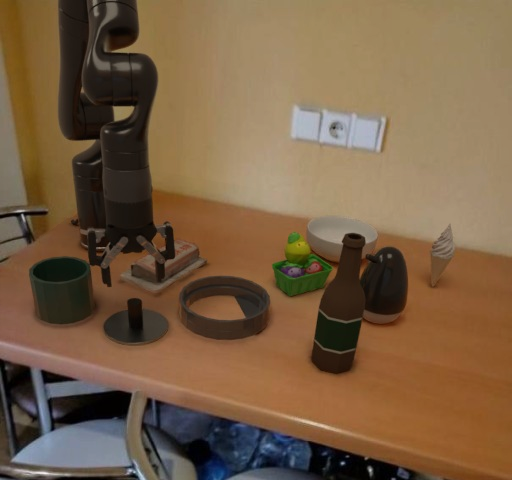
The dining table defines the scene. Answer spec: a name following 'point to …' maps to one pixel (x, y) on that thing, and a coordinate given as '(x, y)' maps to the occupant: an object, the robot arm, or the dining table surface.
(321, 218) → the cereal bowl
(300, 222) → the dining table surface
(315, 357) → the beer bottle
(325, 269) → the fruit basket
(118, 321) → the lid
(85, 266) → the pot
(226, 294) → the pan
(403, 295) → the penguin figurine
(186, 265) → the packaged product
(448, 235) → the ice cream cone
